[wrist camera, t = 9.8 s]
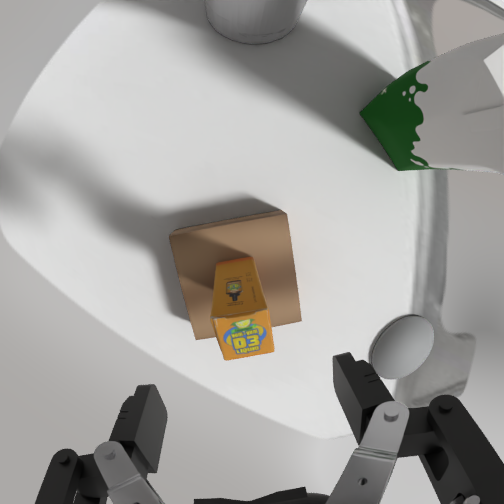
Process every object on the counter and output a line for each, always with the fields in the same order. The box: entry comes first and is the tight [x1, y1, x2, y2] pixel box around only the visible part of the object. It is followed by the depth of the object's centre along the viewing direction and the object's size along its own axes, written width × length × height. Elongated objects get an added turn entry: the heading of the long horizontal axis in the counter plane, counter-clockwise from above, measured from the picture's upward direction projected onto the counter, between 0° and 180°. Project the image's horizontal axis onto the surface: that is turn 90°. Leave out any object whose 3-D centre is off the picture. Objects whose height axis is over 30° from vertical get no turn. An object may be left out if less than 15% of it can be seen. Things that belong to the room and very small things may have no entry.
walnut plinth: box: [169, 210, 302, 340], centre depth 28 cm, size 10×10×3 cm
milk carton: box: [360, 33, 504, 175], centre depth 17 cm, size 9×9×20 cm
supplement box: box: [210, 257, 274, 360], centre depth 21 cm, size 3×3×10 cm
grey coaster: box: [372, 316, 434, 379], centre depth 33 cm, size 9×9×1 cm
